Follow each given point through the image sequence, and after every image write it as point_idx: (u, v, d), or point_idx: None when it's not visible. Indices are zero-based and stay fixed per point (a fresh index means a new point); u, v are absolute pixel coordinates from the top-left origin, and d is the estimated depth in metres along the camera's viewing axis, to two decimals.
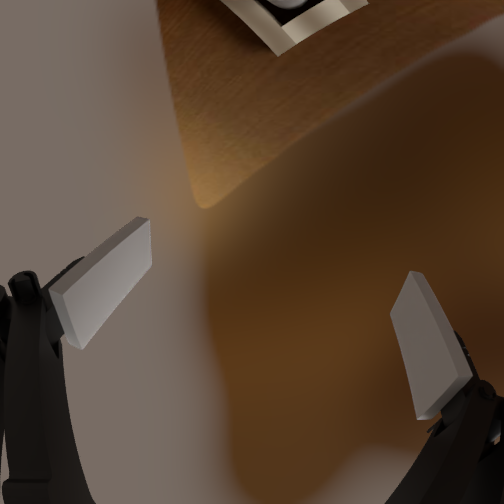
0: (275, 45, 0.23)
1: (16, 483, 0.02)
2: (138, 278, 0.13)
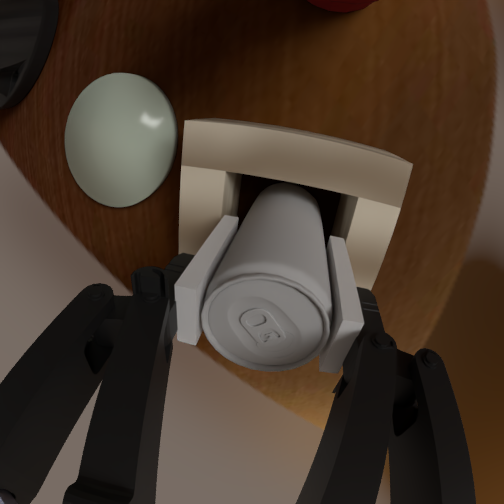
0: None
1: (86, 494, 0.03)
2: None
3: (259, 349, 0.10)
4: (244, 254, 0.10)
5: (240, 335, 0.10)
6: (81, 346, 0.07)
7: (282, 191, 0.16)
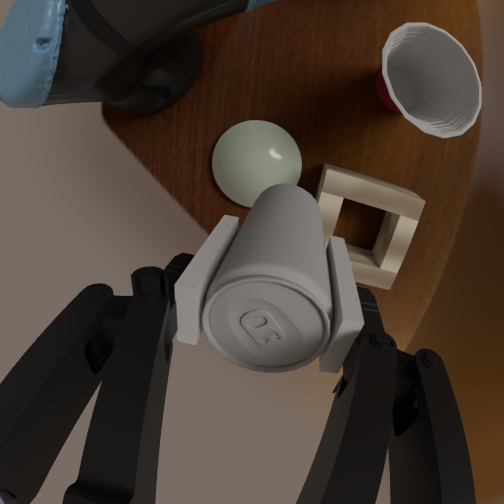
0: (383, 283, 0.32)
1: (86, 494, 0.03)
2: None
3: (260, 351, 0.10)
4: (245, 256, 0.10)
5: (241, 336, 0.10)
6: (81, 346, 0.07)
7: (282, 192, 0.16)
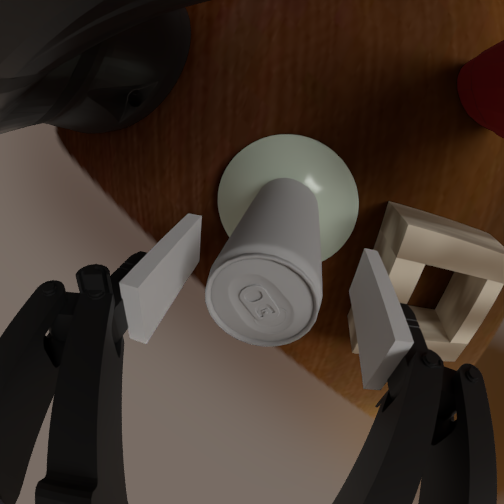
0: (449, 356, 0.21)
1: (54, 486, 0.03)
2: (190, 273, 0.14)
3: (256, 325, 0.12)
4: (244, 238, 0.11)
5: (240, 310, 0.11)
6: (40, 339, 0.06)
7: (281, 185, 0.18)
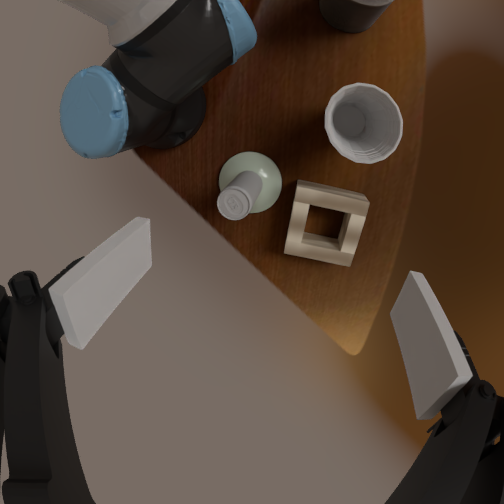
0: (344, 262, 0.47)
1: (16, 483, 0.02)
2: (138, 278, 0.13)
3: (232, 212, 0.38)
4: (228, 185, 0.38)
5: (227, 206, 0.38)
6: None
7: (245, 173, 0.44)
